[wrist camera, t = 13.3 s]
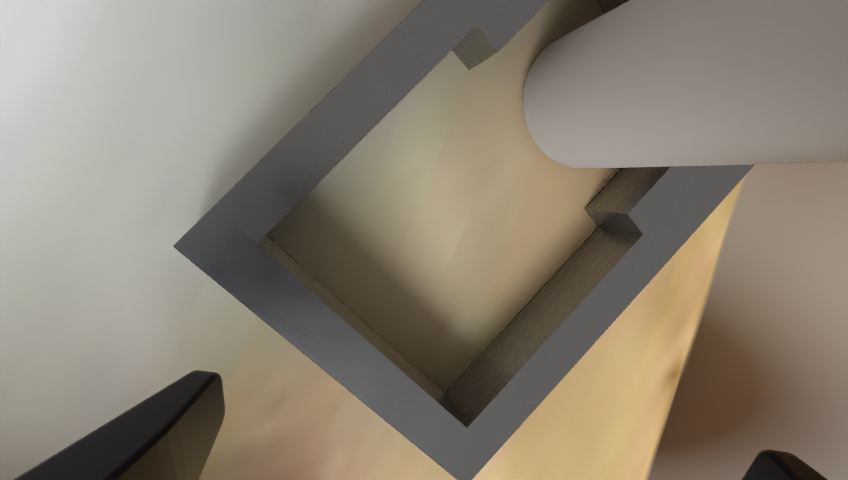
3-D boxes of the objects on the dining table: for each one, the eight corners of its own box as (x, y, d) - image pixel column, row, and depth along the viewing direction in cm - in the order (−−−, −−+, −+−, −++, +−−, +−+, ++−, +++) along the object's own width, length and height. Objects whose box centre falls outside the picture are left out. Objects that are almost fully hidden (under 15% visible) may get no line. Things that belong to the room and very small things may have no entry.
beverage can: (503, 50, 17) (965, -235, 5) (618, 27, 18) (1222, -258, 6) (529, 182, 17) (967, 196, 6) (636, 152, 18) (1188, 114, 7)
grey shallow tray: (443, 445, 18) (484, 522, 14) (194, 234, 15) (153, 257, 11) (736, 124, 19) (849, 111, 15) (567, -133, 16) (655, -234, 12)
